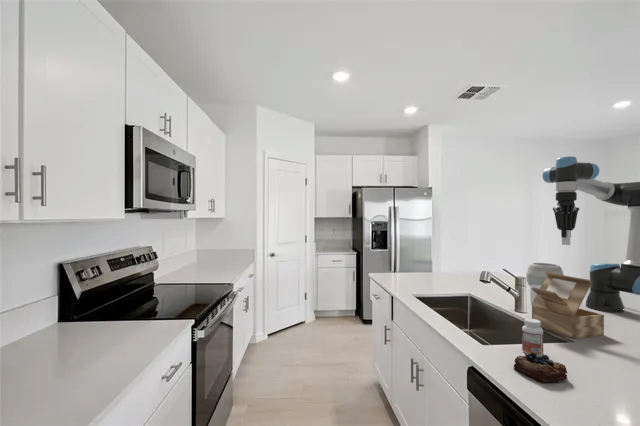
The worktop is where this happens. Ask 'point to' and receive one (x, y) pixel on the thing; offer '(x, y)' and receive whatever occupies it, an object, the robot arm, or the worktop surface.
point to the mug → (532, 293)
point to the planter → (541, 272)
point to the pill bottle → (532, 337)
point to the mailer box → (570, 322)
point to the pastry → (540, 368)
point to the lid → (561, 294)
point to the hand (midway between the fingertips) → (566, 244)
